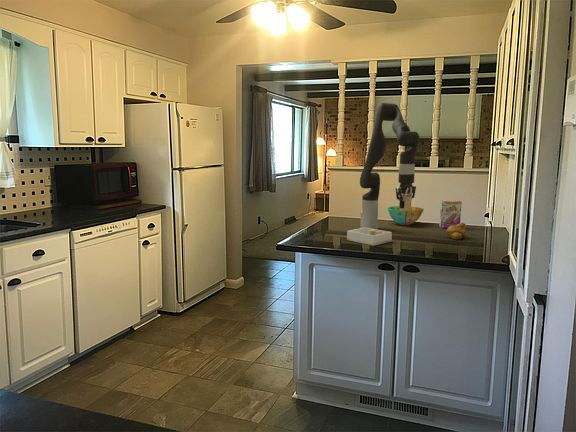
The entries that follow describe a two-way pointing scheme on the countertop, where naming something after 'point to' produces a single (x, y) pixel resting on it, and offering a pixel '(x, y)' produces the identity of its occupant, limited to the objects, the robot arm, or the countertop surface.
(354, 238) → the tote
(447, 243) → the countertop surface
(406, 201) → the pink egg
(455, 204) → the candy bar box
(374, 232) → the birch cube
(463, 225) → the bread roll
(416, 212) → the bowl
